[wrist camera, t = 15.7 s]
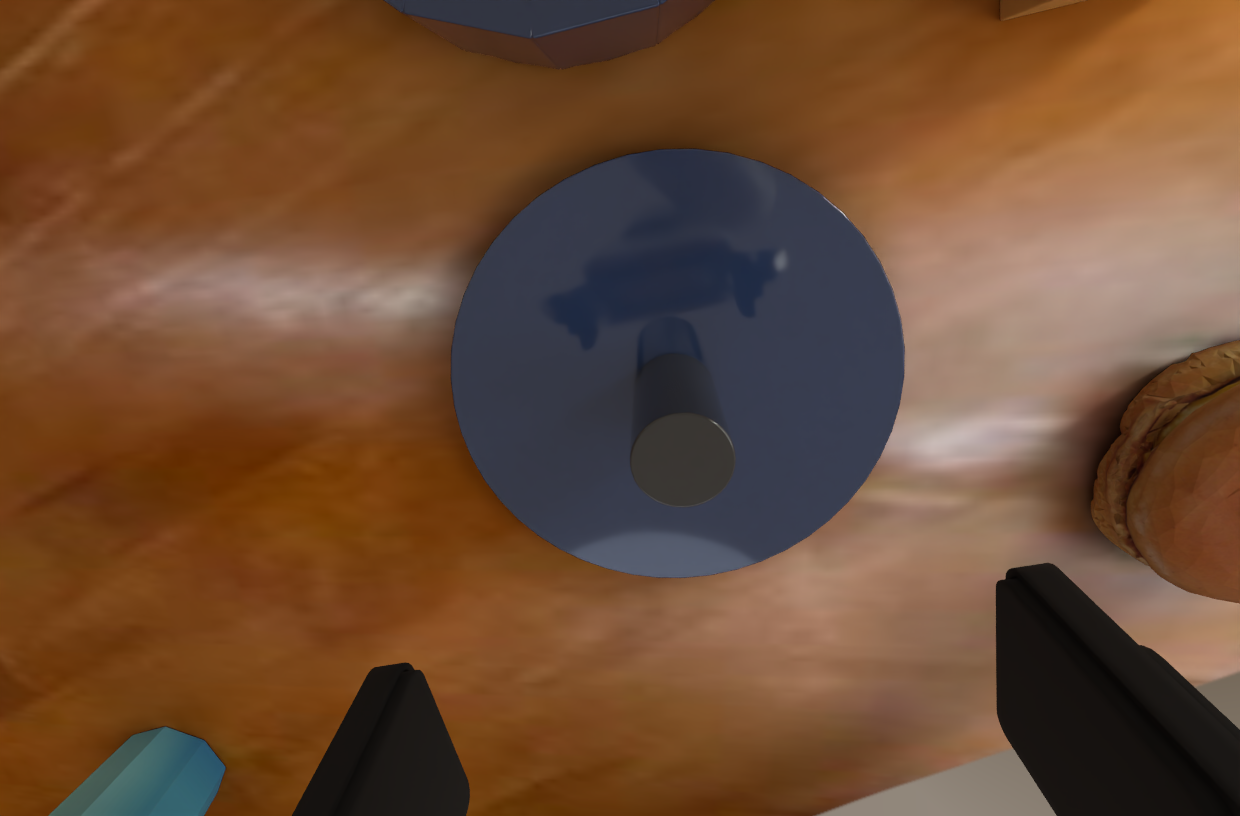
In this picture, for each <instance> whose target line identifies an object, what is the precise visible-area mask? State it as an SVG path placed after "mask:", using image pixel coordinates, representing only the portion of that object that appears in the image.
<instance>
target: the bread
mask: <svg viewBox="0 0 1240 816" xmlns="http://www.w3.org/2000/svg"><path fill="white" fill-rule="evenodd" d="M1082 1H1086V0H1000V20H1001V21H1004V20H1008V19H1012V18H1016V17H1020V16H1024V15H1028V14H1033V13H1037V12H1041V11H1045V10H1049V9H1053V8H1057V7H1061V6H1065V5H1070V4H1074V3H1078V2H1082Z"/></svg>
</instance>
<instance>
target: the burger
mask: <svg viewBox="0 0 1240 816" xmlns="http://www.w3.org/2000/svg"><path fill="white" fill-rule="evenodd" d="M1120 430H1121V433H1122V434H1121V435H1120V436H1119V437H1118V438H1117V439H1116V440H1115V442H1114V443H1113V444H1111V448H1110V449H1109V450H1108V452H1107V453H1106V454H1105V456H1104V457H1103V459H1102V461H1101V462H1100V464H1099V467H1098V470H1097V476H1098V478H1097V479H1096V480H1095V482H1094V489H1093V490H1094V499H1093V500H1092V501H1091V514H1092V518H1093V520H1094V522H1095V524H1096V525H1097V527H1098V528H1099V529H1100V530H1101V532H1102V533H1103V534H1104V535H1105V536H1106V537H1107V538H1108V539H1109V540H1110V541H1111V542H1112V543H1114V544H1115V545H1116V546H1118V547H1119V548H1120V549H1122V550H1123V551H1125V552H1126V553H1128V554H1129V555H1131V556H1132V557H1134V558H1136V559H1137V560H1139V561H1140V562H1142V563H1144V564H1145V565H1148V566H1150V567H1151V569H1152V570H1154V571H1155V572H1156V573H1157V574H1158V575H1159V576H1160V577H1161V578H1163V579H1165V580H1167V581H1168V582H1170V583H1172V584H1174V585H1175V586H1177V587H1179V588H1181V589H1183V590H1186V591H1188V592H1190V593H1194V594H1198V595H1202V596H1206V597H1210V598H1214V599H1218V600H1224V601H1229V602H1235V603H1240V340H1238V341H1233V342H1229V343H1226V344H1222V345H1218V346H1214V347H1211V348H1207V349H1205V350H1202V351H1200V352H1196V353H1192V354H1191V355H1190V356H1189V358H1188V359H1187V360H1186V361H1184V362H1181V363H1177V364H1172V365H1171V366H1169V367H1168V368H1167V369H1165V370H1164V371H1163V372H1162V373H1160V374H1159V375H1158V376H1156V377H1155V378H1154V379H1153V380H1151V381H1150V382H1149V383H1148V384H1147V385H1146V386H1145V387H1144V388H1143V389H1142V390H1141V391H1140V392H1139V393H1138V395H1137V396H1136V397H1135V398H1134V399H1133V400H1132V402H1131V403H1130V404H1129V405H1128V409H1127V410H1126V412H1125V413H1124V414H1123V417H1122V419H1121V424H1120Z"/></svg>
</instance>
